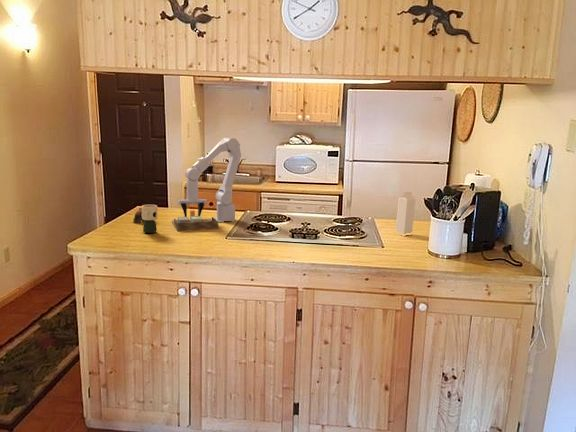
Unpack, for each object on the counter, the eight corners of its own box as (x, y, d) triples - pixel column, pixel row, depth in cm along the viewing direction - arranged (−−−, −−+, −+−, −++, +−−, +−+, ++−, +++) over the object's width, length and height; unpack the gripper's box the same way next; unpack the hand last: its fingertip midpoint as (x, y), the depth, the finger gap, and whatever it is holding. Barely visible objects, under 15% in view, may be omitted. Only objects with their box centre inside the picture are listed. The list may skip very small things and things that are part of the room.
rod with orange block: (196, 219, 262) (196, 210, 261) (201, 226, 250) (202, 216, 248) (187, 220, 261) (187, 210, 259) (192, 226, 248) (192, 216, 247)
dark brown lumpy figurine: (129, 222, 259) (135, 207, 261) (146, 228, 264) (152, 214, 266) (136, 221, 249) (142, 205, 251) (153, 228, 253) (159, 213, 255)
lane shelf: (210, 220, 267) (210, 213, 266) (218, 229, 251) (218, 221, 250) (171, 222, 260) (171, 214, 259) (177, 231, 243) (177, 223, 243)
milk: (395, 234, 256) (398, 191, 252) (403, 232, 260) (407, 190, 255) (404, 236, 252) (407, 193, 247) (412, 235, 255) (416, 192, 250)
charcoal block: (186, 224, 253) (186, 216, 252) (189, 227, 247) (189, 219, 246) (177, 225, 251) (177, 217, 250) (179, 227, 246) (179, 220, 245)
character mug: (154, 235, 234) (154, 208, 231) (139, 235, 234) (138, 208, 231) (160, 230, 244) (159, 203, 241) (145, 229, 244) (145, 203, 241)
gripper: (179, 193, 251) (179, 219, 254) (208, 192, 256) (207, 218, 259) (177, 190, 257) (177, 216, 260) (205, 190, 262) (205, 215, 265)
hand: (192, 217), depth 260 cm, fingers open, 6 cm apart
